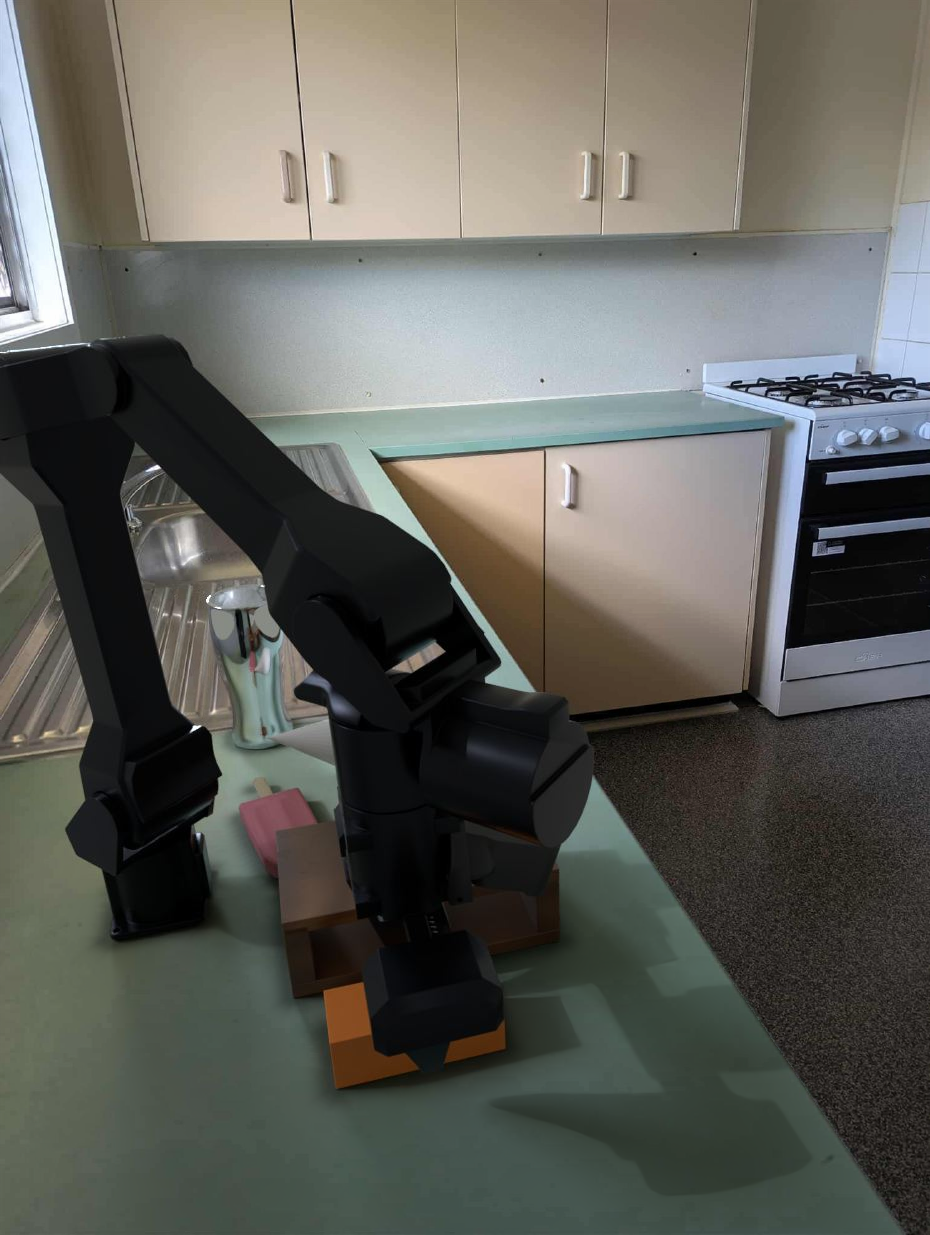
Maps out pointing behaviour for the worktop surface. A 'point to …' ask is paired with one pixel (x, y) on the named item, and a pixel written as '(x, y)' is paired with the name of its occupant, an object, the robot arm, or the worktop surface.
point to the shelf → (340, 944)
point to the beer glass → (250, 663)
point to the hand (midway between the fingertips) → (419, 1014)
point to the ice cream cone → (310, 740)
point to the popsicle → (273, 819)
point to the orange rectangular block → (356, 1045)
